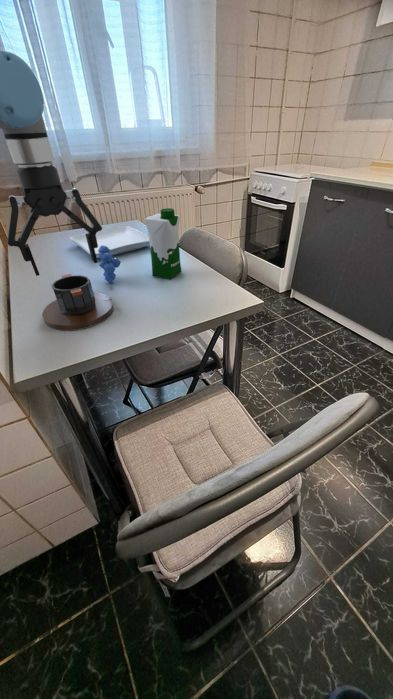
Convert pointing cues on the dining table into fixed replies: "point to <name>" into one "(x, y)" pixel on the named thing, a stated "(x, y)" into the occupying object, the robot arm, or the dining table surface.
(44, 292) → the dining table surface
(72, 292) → the cooking pot
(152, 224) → the milk carton
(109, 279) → the grapes
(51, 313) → the turntable
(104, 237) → the square plate
